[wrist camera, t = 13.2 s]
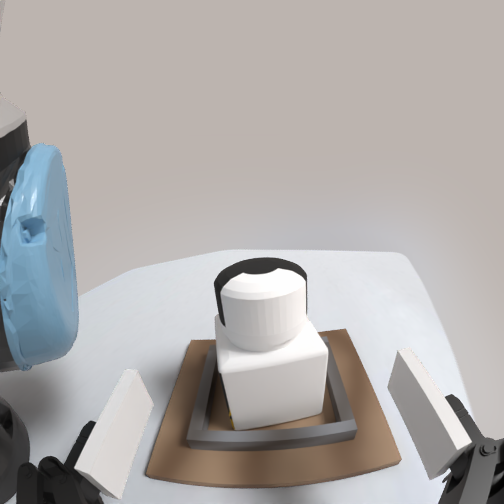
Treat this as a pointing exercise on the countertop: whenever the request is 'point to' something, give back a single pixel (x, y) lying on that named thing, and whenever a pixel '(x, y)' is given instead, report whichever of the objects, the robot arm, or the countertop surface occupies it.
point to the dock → (272, 429)
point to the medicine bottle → (267, 344)
